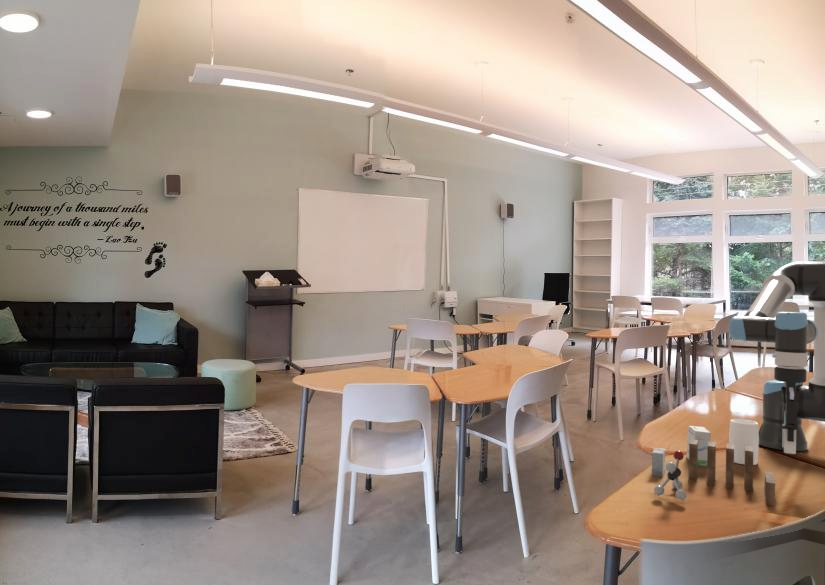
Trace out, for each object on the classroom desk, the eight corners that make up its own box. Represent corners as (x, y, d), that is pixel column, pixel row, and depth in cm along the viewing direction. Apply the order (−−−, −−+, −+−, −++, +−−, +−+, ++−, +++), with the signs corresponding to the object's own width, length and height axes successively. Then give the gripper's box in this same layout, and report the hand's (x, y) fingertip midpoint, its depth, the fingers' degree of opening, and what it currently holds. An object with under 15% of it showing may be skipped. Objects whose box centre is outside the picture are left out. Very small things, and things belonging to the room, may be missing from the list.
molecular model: (652, 495, 159) (653, 456, 159) (663, 484, 169) (663, 447, 169) (685, 502, 155) (685, 461, 155) (694, 490, 164) (694, 452, 164)
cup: (756, 470, 184) (757, 425, 184) (726, 465, 189) (727, 421, 189) (760, 464, 190) (760, 421, 190) (731, 460, 196) (731, 417, 196)
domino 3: (733, 482, 172) (734, 444, 172) (733, 487, 167) (734, 449, 167) (725, 480, 173) (726, 443, 173) (725, 486, 168) (726, 448, 168)
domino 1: (697, 476, 177) (697, 440, 177) (696, 482, 171) (696, 444, 171) (690, 475, 178) (690, 439, 178) (688, 480, 172) (689, 443, 172)
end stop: (664, 471, 181) (665, 448, 181) (662, 477, 175) (662, 453, 175) (654, 469, 183) (654, 447, 183) (651, 475, 177) (652, 452, 177)
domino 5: (773, 472, 162) (775, 483, 153) (772, 494, 162) (774, 506, 153) (764, 471, 163) (766, 482, 154) (764, 492, 163) (765, 504, 154)
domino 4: (752, 484, 170) (752, 446, 170) (752, 490, 164) (753, 451, 164) (744, 483, 171) (744, 446, 171) (744, 489, 165) (745, 450, 165)
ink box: (686, 460, 194) (686, 425, 194) (703, 461, 193) (703, 426, 193) (693, 468, 186) (693, 430, 186) (710, 469, 184) (711, 431, 185)
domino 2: (715, 479, 174) (715, 442, 174) (714, 484, 169) (715, 446, 169) (707, 478, 175) (708, 441, 175) (707, 483, 170) (707, 445, 170)
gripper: (772, 363, 173) (771, 441, 173) (776, 369, 157) (775, 455, 156) (802, 365, 169) (801, 444, 169) (810, 371, 153) (808, 460, 153)
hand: (788, 450), depth 163 cm, fingers closed on teal tile, 6 cm apart
